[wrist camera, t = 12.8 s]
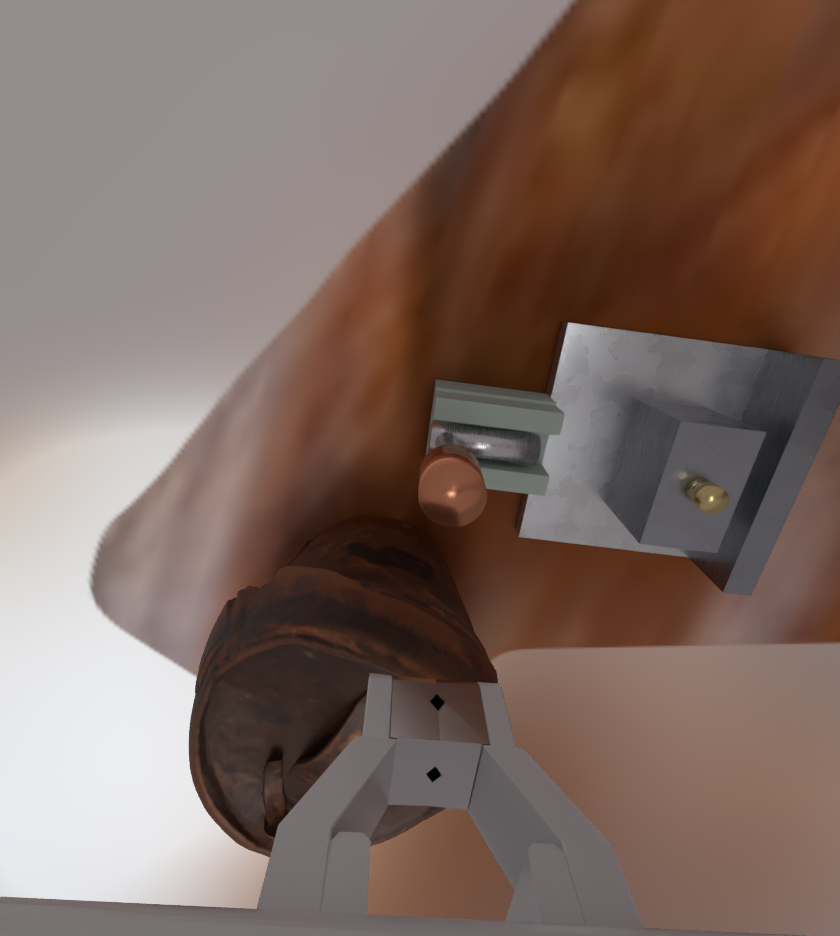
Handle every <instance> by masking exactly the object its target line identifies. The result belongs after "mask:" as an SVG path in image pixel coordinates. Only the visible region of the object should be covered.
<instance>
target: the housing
mask: <svg viewBox="0 0 840 936" xmlns="http://www.w3.org/2000/svg"><path fill="white" fill-rule="evenodd" d="M766 433H767V432H765V431H762V430H760V429H757V428H755V427H752V426H750V425H748V424H745V423H743V422H740V421H738V420H735V419H733V418H730V417H728V416H726V415H723V414H721V413H718V412H716V411H713V410H711V409H708V408H704V407H696V406H689V405H681V404H673V403H666V402H658V401H650V400H642V399H636V401H635V404H634V408H633V411H632V414H631V418H630V421H629V424H628V428H627V431H626V434H625V438H624V441H623V444H622V448H621V451H620V454H619V458H618V461H617V465H616V468H615V471H614V475H613V478H612V481H611V485H610V488H609V491H608V495H607V498H606V501H605V504H606V505H607V506H608V507H609V508H610V510H611V511H612V512H613V513H614V514H615V515H616V517H617V518H618V519H619V520H620V521H621V523H622V524H623V525H624V526H625V527H626V529H627V530H628V531H629V532H630V533H631V534H632V536H633V537H634V538H635V539H636V540H637V542H638V543H639V544H645V545H653V546H661V547H670V548H678V549H686V550H695V551H703V552H711V553H717V552H718V549H719V547H720V544H721V542H722V540H723V537H724V535H725V532H726V530H727V527H728V525H729V523H730V520H731V518H732V515H733V513H734V511H735V508H736V506H737V503H738V501H739V498H740V496H741V494H742V491H743V489H744V486H745V484H746V481H747V479H748V477H749V474H750V472H751V469H752V467H753V464H754V462H755V460H756V457H757V455H758V452H759V450H760V447H761V445H762V443H763V440H764V438H765V435H766Z"/></svg>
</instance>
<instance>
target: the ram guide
mask: <svg viewBox="0 0 840 936" xmlns="http://www.w3.org/2000/svg"><path fill="white" fill-rule="evenodd" d="M564 416H565V413H564V412H562V411H561V410H560V409H559V408H558V407H557V406H556V402H555V401H554V400H553V399H552V398H550V397H549V396H548V395H547V394H545V393H538V392H530V391H522V390H514V389H507V388H499V387H491V386H484V385H476V384H468V383H460V382H453V381H445V380H437V379H436V382H435V389H434V396H433V403H432V411H431V418H430V425H429V432H428V440H427V447H426V454H425V456H426V455H427V454H428V453H429V451H428V450H429V440H430V432H431V425H432V421H434V422H442V423H450V424H458V425H466V426H473V427H481V428H489V429H497V430H505V431H513V432H521V433H529V434H537V435H540V438H541V450H540V456H539V459H538V462H537V463H536V464H535V465H530V464H522V463H514V462H506V461H498V460H490V459H482V458H477V460H478V462H479V466H480V469H481V472H482V476H483V479H484V482H485V486H486V489H492V490H500V491H509V492H517V493H525V494H533V495H541V496H545V494H546V490H547V486H548V482H549V478H550V476H549V475H548V473H547V472H546V470H545V469H544V467H543V466H542V462H543V458H544V454H545V450H546V445H547V441H548V437H549V434H552V435H560V433H561V429H562V425H563V421H564Z"/></svg>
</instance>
